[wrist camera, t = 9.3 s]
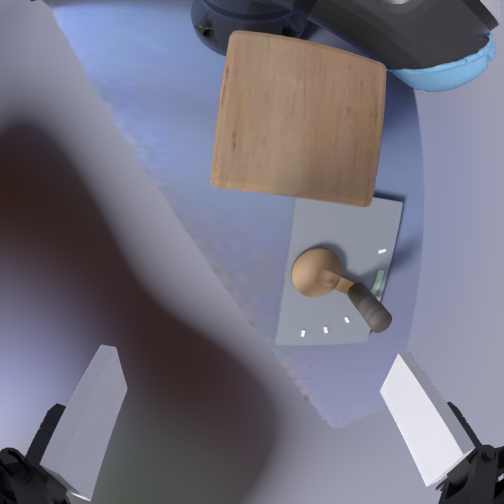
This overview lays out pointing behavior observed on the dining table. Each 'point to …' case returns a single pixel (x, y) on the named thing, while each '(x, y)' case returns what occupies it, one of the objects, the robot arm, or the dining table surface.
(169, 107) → the dining table surface
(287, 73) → the wooden block
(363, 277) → the board
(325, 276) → the dial
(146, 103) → the dining table surface
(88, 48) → the dining table surface
